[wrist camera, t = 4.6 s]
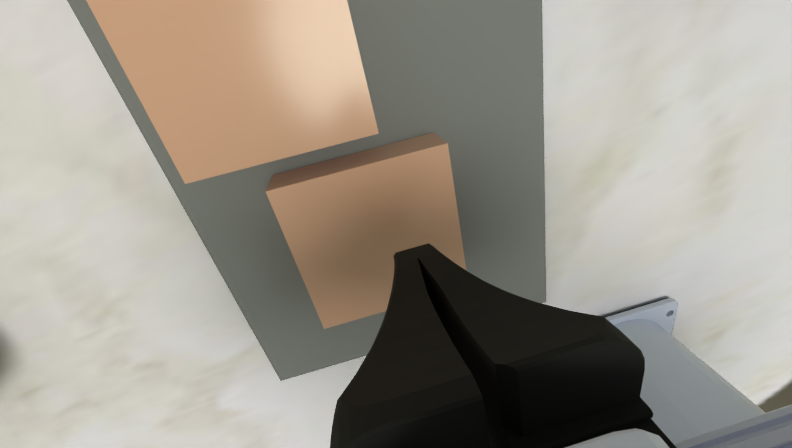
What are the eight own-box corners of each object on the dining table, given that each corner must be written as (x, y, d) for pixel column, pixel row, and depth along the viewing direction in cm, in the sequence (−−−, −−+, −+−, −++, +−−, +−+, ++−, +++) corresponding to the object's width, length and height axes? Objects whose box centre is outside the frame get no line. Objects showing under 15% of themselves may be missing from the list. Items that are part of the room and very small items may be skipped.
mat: (542, 297, 21) (545, 301, 21) (281, 374, 20) (280, 380, 20) (533, -158, 12) (539, -165, 11) (45, -53, 11) (35, -56, 10)
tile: (468, 286, 16) (324, 329, 16) (454, 263, 18) (324, 300, 18) (447, 142, 13) (265, 191, 13) (433, 132, 15) (273, 174, 15)
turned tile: (372, 123, 14) (378, 133, 13) (203, 167, 14) (184, 184, 12) (319, -96, 11) (317, -125, 9) (97, -47, 11) (49, -67, 9)
